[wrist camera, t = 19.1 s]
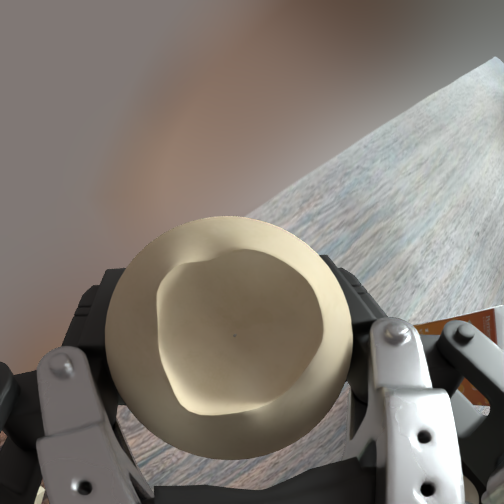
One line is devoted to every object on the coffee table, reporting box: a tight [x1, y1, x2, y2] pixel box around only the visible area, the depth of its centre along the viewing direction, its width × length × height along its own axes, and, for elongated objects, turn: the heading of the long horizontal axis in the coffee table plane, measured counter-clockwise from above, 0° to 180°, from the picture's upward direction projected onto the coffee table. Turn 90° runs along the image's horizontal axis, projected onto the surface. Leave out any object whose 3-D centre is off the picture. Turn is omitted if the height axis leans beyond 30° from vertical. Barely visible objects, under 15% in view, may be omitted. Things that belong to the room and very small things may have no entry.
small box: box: [413, 305, 504, 406], centre depth 23 cm, size 8×6×13 cm
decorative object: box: [461, 459, 487, 504], centre depth 19 cm, size 13×10×10 cm
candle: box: [105, 216, 353, 460], centre depth 10 cm, size 6×6×10 cm
